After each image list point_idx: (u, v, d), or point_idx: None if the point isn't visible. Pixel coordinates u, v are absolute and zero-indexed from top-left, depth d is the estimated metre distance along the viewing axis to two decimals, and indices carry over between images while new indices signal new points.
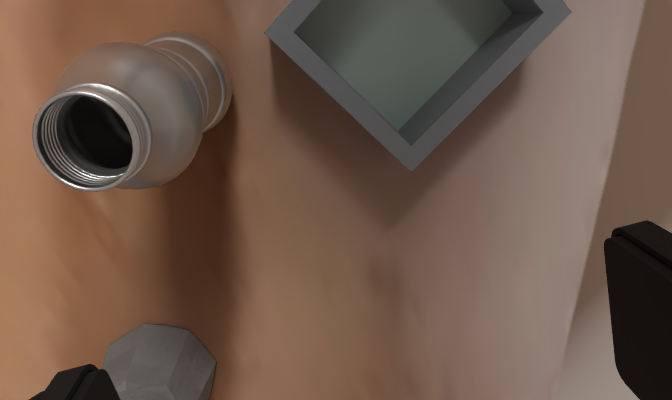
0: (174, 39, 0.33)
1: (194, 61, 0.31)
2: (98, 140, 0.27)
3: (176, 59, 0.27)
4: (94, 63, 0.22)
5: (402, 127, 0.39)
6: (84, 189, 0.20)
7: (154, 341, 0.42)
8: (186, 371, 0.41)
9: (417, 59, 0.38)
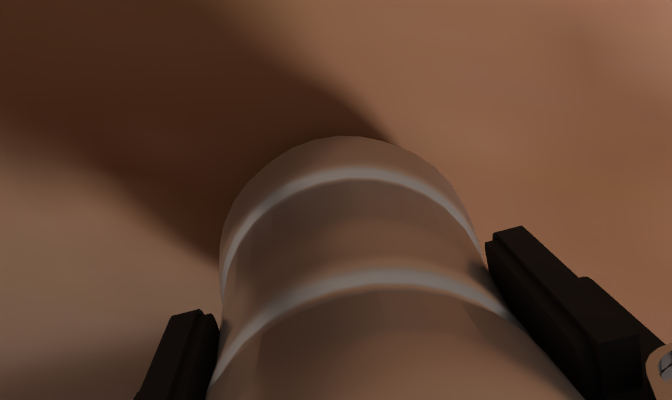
0: None
1: None
2: None
3: None
4: None
5: None
6: None
7: None
8: None
9: None
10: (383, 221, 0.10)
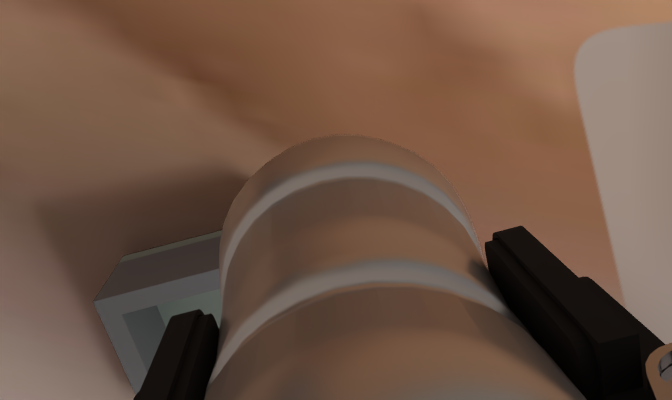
0: None
1: None
2: None
3: None
4: None
5: None
6: None
7: None
8: None
9: None
10: (382, 219, 0.10)
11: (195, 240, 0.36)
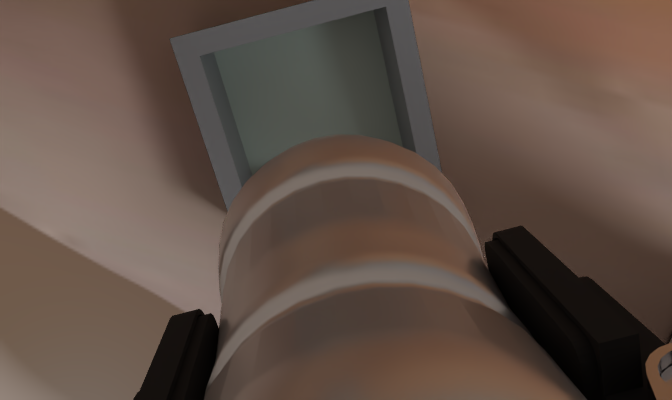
0: None
1: None
2: None
3: None
4: None
5: (214, 57, 0.33)
6: None
7: None
8: None
9: (274, 110, 0.35)
10: (383, 219, 0.10)
11: None
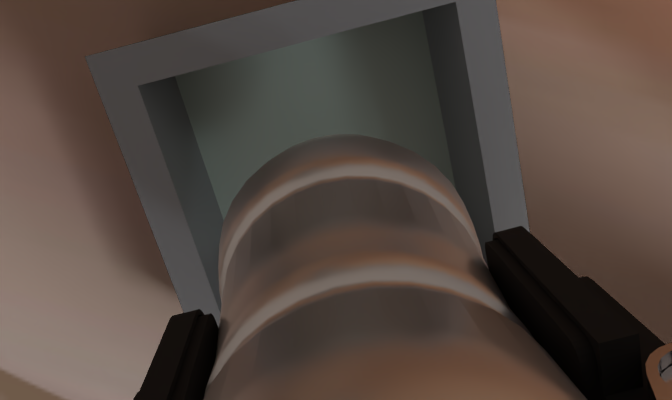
0: None
1: None
2: None
3: None
4: None
5: (175, 82, 0.21)
6: None
7: None
8: None
9: (267, 160, 0.23)
10: (382, 219, 0.10)
11: None
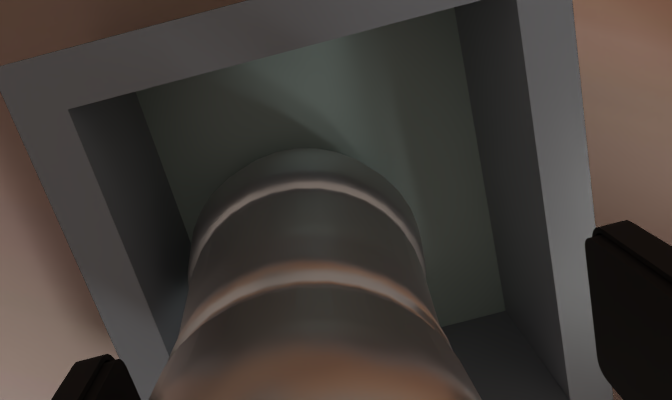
0: None
1: None
2: None
3: None
4: None
5: (134, 97, 0.17)
6: None
7: None
8: None
9: None
10: (319, 227, 0.11)
11: None
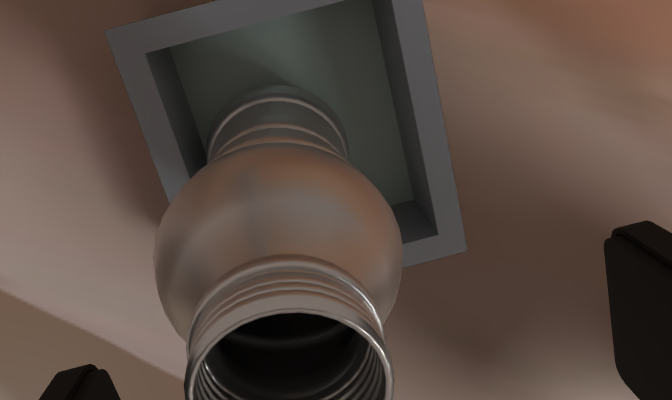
0: None
1: None
2: None
3: None
4: (384, 315, 0.14)
5: (170, 54, 0.26)
6: (209, 346, 0.09)
7: None
8: None
9: None
10: (282, 113, 0.21)
11: None
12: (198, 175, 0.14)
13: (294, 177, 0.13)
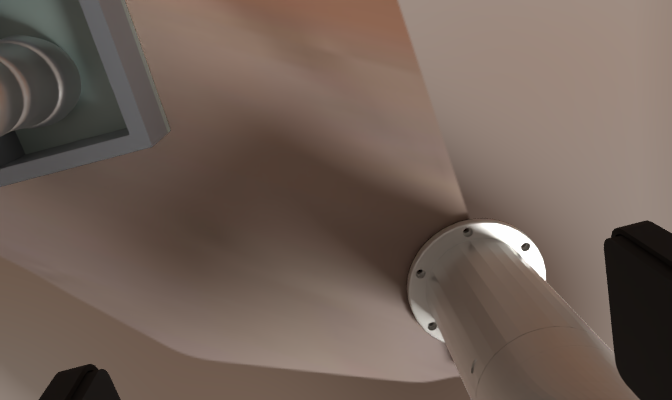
0: (54, 110, 0.38)
1: None
2: None
3: None
4: None
5: None
6: None
7: None
8: None
9: None
10: None
11: None
12: None
13: None
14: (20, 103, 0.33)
